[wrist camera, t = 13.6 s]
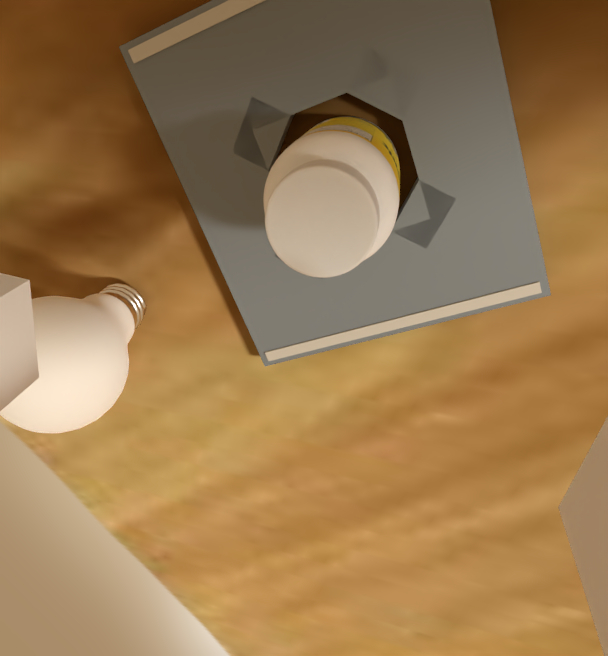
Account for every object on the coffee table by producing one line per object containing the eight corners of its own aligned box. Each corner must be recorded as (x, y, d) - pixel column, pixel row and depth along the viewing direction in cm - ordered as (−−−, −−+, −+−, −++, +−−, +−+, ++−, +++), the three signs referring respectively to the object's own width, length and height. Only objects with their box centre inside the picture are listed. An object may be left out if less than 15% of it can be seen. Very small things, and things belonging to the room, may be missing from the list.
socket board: (461, -117, 21) (464, -127, 20) (545, 285, 28) (551, 295, 27) (130, 47, 26) (117, 46, 25) (269, 356, 33) (264, 367, 32)
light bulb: (192, 273, 31) (94, 371, 22) (169, 362, 34) (75, 482, 25) (85, 231, 31) (-60, 311, 22) (72, 324, 34) (-59, 430, 25)
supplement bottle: (391, 229, 28) (384, 308, 20) (290, 216, 29) (239, 286, 20) (410, 119, 26) (410, 154, 17) (298, 107, 26) (244, 134, 18)
